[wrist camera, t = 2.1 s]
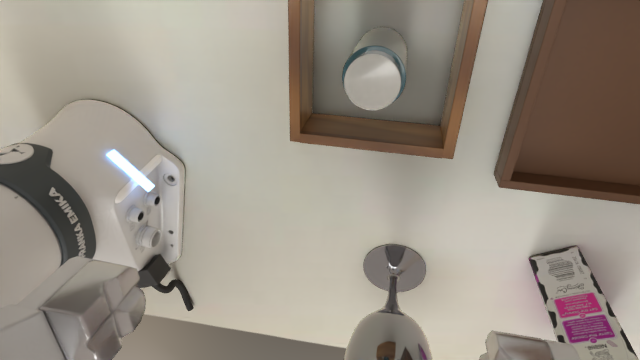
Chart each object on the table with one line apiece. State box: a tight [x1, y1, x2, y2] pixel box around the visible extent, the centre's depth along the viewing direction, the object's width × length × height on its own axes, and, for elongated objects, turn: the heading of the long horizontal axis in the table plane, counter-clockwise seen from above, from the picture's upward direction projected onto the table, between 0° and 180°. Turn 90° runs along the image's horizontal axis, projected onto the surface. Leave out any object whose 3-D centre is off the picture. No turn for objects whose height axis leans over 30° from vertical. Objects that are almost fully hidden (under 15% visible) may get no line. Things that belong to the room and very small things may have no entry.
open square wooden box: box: [288, 0, 488, 159], centre depth 32 cm, size 14×14×5 cm
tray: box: [494, 0, 640, 204], centre depth 31 cm, size 17×17×3 cm
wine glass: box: [344, 245, 433, 360], centre depth 39 cm, size 8×8×15 cm
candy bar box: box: [529, 246, 639, 360], centre depth 35 cm, size 11×5×16 cm, turn 30°
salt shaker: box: [342, 27, 407, 110], centre depth 30 cm, size 4×4×9 cm
